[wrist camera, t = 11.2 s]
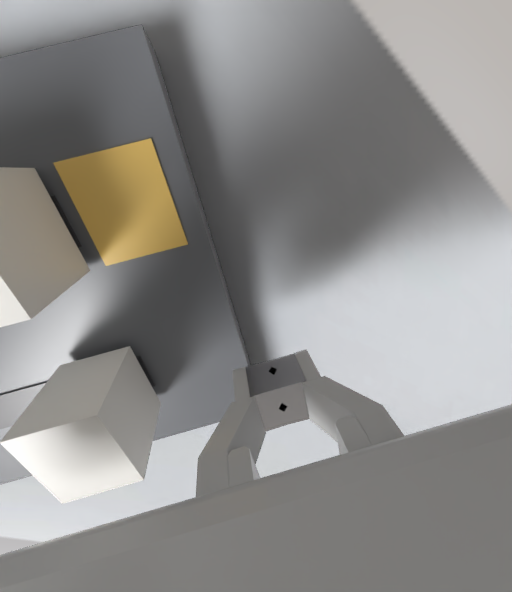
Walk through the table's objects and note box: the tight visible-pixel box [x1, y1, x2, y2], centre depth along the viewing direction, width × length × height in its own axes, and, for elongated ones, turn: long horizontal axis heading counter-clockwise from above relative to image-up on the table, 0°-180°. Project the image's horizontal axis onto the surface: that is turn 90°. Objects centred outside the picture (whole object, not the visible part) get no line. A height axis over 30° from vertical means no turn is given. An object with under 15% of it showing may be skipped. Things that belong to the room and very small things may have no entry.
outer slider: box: [0, 346, 161, 504], centre depth 11 cm, size 4×3×4 cm
